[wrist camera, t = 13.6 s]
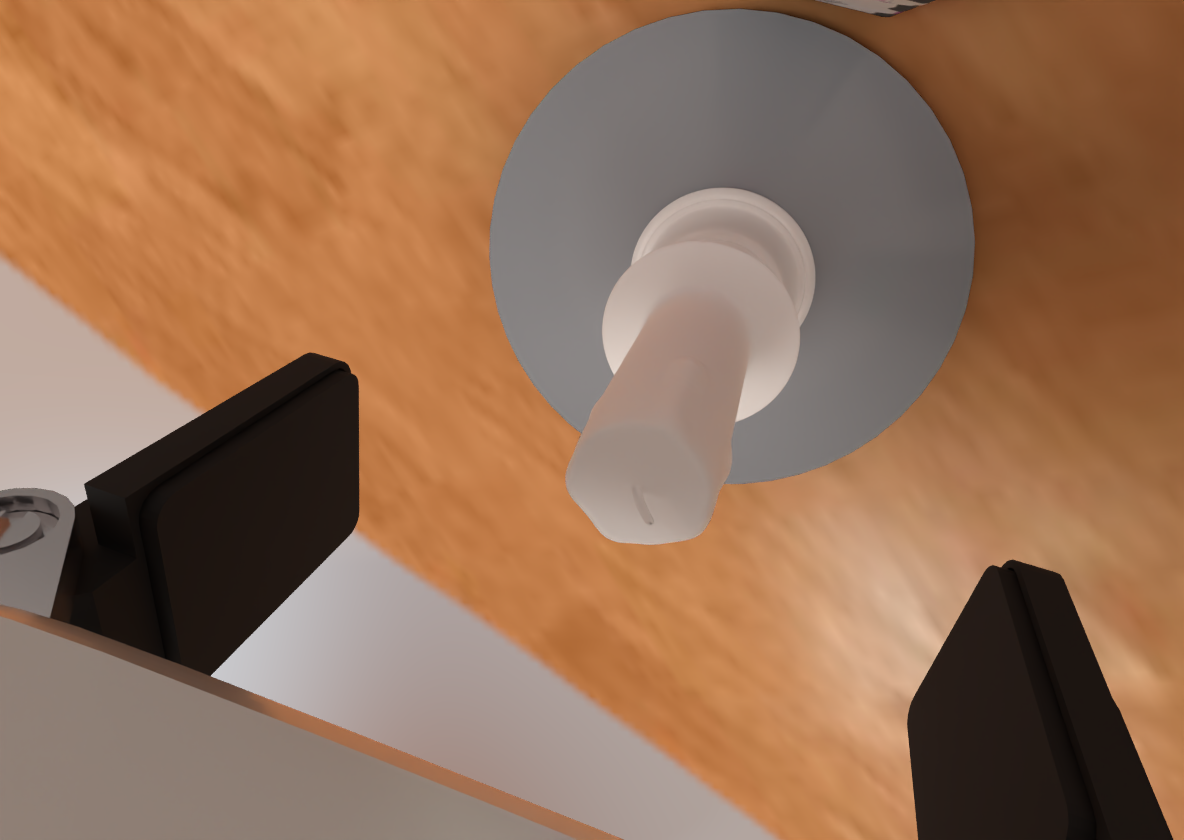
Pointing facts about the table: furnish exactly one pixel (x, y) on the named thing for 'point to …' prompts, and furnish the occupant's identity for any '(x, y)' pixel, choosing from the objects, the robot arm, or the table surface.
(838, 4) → the candy bar box
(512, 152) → the slate plate
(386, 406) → the table surface
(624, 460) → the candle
